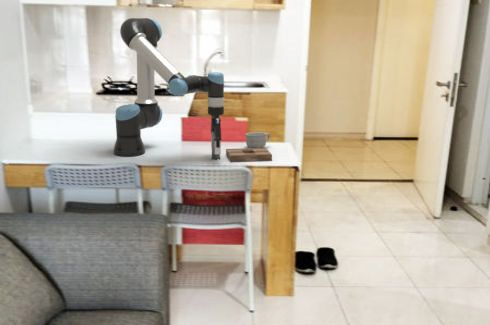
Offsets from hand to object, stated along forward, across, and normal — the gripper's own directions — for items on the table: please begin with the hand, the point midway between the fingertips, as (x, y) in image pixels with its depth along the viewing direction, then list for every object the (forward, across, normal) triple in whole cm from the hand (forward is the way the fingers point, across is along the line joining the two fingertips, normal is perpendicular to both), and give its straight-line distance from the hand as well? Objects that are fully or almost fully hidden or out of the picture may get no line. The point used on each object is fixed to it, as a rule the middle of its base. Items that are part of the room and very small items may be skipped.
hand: (215, 150), depth 254 cm
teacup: (+4, +19, -25) cm, 32 cm away
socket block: (+4, 0, -16) cm, 16 cm away
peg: (+4, 0, 0) cm, 4 cm away
